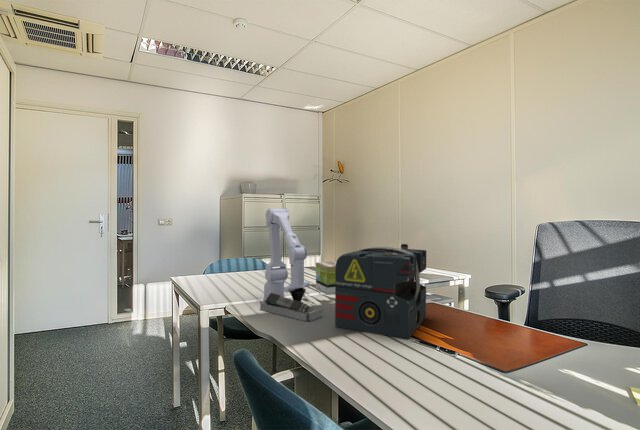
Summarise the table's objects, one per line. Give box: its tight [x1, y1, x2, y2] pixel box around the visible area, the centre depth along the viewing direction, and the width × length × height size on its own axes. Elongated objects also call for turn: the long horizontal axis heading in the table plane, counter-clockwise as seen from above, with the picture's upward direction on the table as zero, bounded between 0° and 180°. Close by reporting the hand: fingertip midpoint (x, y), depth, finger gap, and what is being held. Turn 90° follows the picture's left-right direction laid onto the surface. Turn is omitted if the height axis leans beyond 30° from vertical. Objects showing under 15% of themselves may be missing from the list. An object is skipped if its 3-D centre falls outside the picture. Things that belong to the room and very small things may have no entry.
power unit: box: [334, 243, 427, 340], centre depth 140 cm, size 28×28×30 cm
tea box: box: [315, 261, 336, 295], centre depth 194 cm, size 15×10×15 cm, turn 25°
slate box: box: [259, 300, 323, 322], centre depth 153 cm, size 28×9×3 cm, turn 52°
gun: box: [265, 293, 310, 313], centre depth 154 cm, size 4×20×10 cm
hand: (297, 305), depth 157 cm, fingers closed
